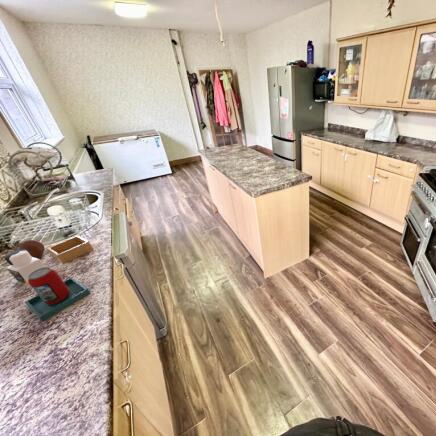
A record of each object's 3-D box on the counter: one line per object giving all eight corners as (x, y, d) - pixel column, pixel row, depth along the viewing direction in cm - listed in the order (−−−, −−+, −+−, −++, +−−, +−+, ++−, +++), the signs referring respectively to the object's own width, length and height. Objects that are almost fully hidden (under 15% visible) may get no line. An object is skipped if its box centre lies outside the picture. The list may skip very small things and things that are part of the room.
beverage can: (41, 304, 80) (19, 278, 74) (62, 289, 85) (43, 264, 79) (55, 307, 78) (34, 281, 72) (76, 292, 84) (58, 267, 78)
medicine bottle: (17, 281, 91) (-4, 257, 86) (39, 269, 97) (21, 246, 91) (28, 285, 89) (8, 260, 83) (50, 272, 95) (32, 249, 89)
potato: (25, 265, 100) (13, 250, 96) (24, 254, 107) (13, 240, 103) (49, 257, 105) (38, 242, 101) (47, 247, 112) (37, 233, 108)
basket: (62, 263, 100) (57, 255, 98) (52, 256, 105) (46, 248, 103) (93, 249, 108) (88, 241, 106) (82, 242, 114) (77, 235, 111)
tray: (42, 321, 74) (39, 317, 73) (27, 306, 80) (24, 301, 79) (90, 293, 84) (87, 288, 83) (74, 281, 90) (71, 276, 89)
